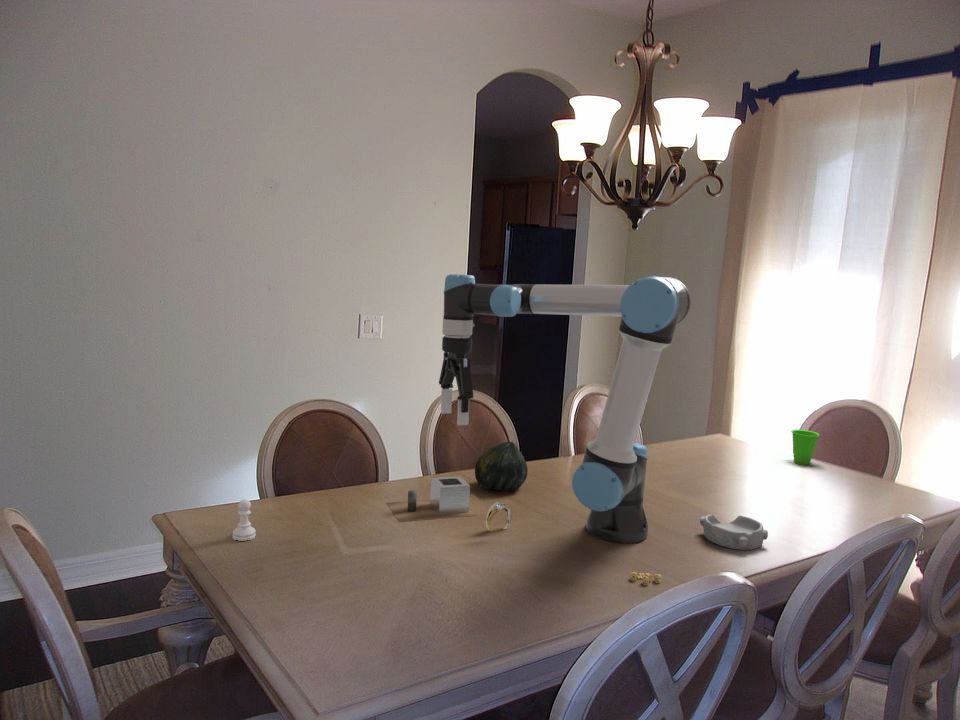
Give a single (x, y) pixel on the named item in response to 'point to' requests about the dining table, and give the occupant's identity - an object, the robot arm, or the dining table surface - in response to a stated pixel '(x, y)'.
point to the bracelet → (491, 514)
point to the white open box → (450, 495)
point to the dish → (734, 532)
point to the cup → (803, 445)
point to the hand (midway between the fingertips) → (454, 419)
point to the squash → (501, 467)
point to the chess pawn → (244, 523)
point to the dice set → (645, 577)
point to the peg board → (420, 510)
